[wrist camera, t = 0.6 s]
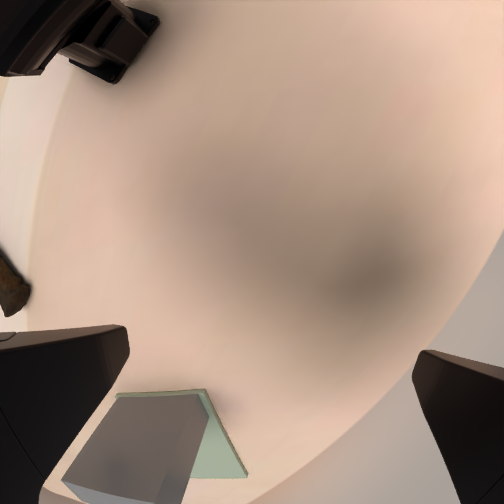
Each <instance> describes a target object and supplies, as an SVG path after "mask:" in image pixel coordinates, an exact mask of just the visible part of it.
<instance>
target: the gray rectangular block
mask: <svg viewBox="0 0 504 504" xmlns="http://www.w3.org/2000/svg"><path fill="white" fill-rule="evenodd" d="M208 420H209V415H208V413H207V411H206V409H205V407H204V405H203V403H202V401H201V399H200V397H199V395H198V394H187V395H171V396H147V397H118V398H117V400H116V401H115V403H114V404H113V405H112V407H111V408H110V410H109V411H108V412H107V414H106V415H105V417H104V418H103V420H102V421H101V422H100V424H99V425H98V427H97V428H96V429H95V431H94V432H93V434H92V435H91V437H90V438H89V439H88V441H87V442H86V444H85V445H84V447H83V448H82V450H81V451H80V452H79V454H78V455H77V457H76V458H75V460H74V461H73V463H72V464H71V466H70V467H69V468H68V470H67V471H66V473H65V474H64V476H63V477H62V479H61V481H62V482H63V483H64V484H65V485H66V486H67V487H68V488H69V489H70V490H71V491H72V492H73V493H74V494H75V495H76V496H77V497H78V498H79V499H80V500H81V501H83V502H86V503H89V504H181V502H182V499H183V496H184V493H185V490H186V487H187V484H188V481H189V478H190V475H191V472H192V469H193V466H194V463H195V460H196V457H197V454H198V450H199V447H200V444H201V441H202V438H203V435H204V432H205V429H206V426H207V423H208Z"/></svg>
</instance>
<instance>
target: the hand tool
mask: <svg viewBox="0 0 504 504" xmlns="http://www.w3.org/2000/svg"><path fill="white" fill-rule="evenodd" d="M29 295H30V288H29V287H28V286H24V285H23V283H22V278H21V277H16V276H15V275H14V273H13V272H12V271H11V270H10V268H9V267H8V266H7V264H6V263H5V262H4V260H3V259H2V258H1V256H0V305H1V307H2V310H3V312H4V316H5V317H10V316H12V315H14V314H15V313H16V312H18V311H20V310H21V309H22V308H23V306H24V305H25V304H26V301H27V300H28V298H29Z"/></svg>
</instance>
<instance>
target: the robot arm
mask: <svg viewBox="0 0 504 504" xmlns="http://www.w3.org/2000/svg"><path fill="white" fill-rule="evenodd" d="M153 21H155V22H154V23H152V22H153ZM151 23H152V24H151ZM159 23H160V19H159V18H158V17H157V16H154V15H151V14H149V13H146V12H143V11H140V10H137V9H134V8H131V7H128V6H125V5H124V4H123V3H122V2H121V1H120V0H0V76H4V77H12V76H34V75H41V74H42V72H43V71H44V70H45V67H46V66H47V64H48V63H49V62H50V61H51V59H52V58H53V57H54V56H55V55H56V54H57V53H58V54H61V55H63V56H65V57H68V58H69V62H70V63H72V64H74V65H76V66H78V67H80V68H82V69H84V70H86V71H87V72H89V73H91V74H93V75H95V76H97V77H99V78H101V79H103V80H105V81H106V82H108V83H110V84H115V83H117V82H118V81H119V79H120V78H121V76H122V75H123V73H124V72H125V70H126V69H127V67H128V66H129V64H130V63H131V62H132V60H133V59H134V58H135V56H136V55H137V53H138V52H139V51H140V49H141V48H142V46H143V45H144V44H145V42H146V41H147V40H148V38H149V37H150V35H151V34H152V33H153V31H154V30H155V29H156V28H157V26H158V25H159ZM113 76H115V77H114V79H113V80H112V77H113ZM129 354H130V347H129V341H128V334H127V329H126V328H125V327H124V326H120V325H114V324H112V325H103V326H93V327H82V328H71V329H59V330H45V331H30V332H18V333H16V332H2V333H0V504H39V503H38V502H39V494H40V491H41V488H42V486H43V484H44V482H45V480H46V479H47V478H48V476H49V475H50V473H51V472H52V471H53V469H54V468H55V466H56V465H57V463H58V462H59V460H60V459H61V458H62V456H63V455H64V453H65V452H66V450H67V449H68V448H69V446H70V445H71V443H72V442H73V440H74V439H75V438H76V436H77V435H78V433H79V432H80V431H81V429H82V428H83V426H84V425H85V424H86V422H87V421H88V419H89V418H90V417H91V415H92V414H93V412H94V411H95V410H96V408H97V407H98V406H99V404H100V403H101V401H102V400H103V399H104V397H105V396H106V395H107V393H108V392H109V390H110V389H111V388H112V386H113V384H114V383H115V381H116V379H117V377H118V375H119V374H120V372H121V370H122V368H123V366H124V365H125V363H126V361H127V359H128V357H129ZM412 381H413V384H414V387H415V390H416V393H417V396H418V399H419V402H420V405H421V408H422V411H423V413H424V416H425V418H426V420H427V422H428V425H429V427H430V429H431V431H432V434H433V436H434V438H435V440H436V443H437V445H438V447H439V449H440V452H441V454H442V457H443V459H444V462H445V464H446V466H447V469H448V471H449V474H450V476H451V479H452V482H453V484H454V487H455V489H456V492H457V495H458V497H459V500H460V503H461V504H504V368H502V367H498V366H493V365H489V364H485V363H482V362H478V361H474V360H470V359H466V358H461V357H458V356H454V355H450V354H446V353H443V352H439V351H435V350H422V351H421V352H420V353H419V355H418V358H417V361H416V364H415V367H414V369H413V372H412Z"/></svg>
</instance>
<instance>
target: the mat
mask: <svg viewBox="0 0 504 504" xmlns="http://www.w3.org/2000/svg"><path fill="white" fill-rule="evenodd" d="M187 394H198V395H199V397H200V399H201V401H202V403H203V405H204V407H205V409H206V411H207V413H208V415H209V420H208V423H207V426H206V429H205V432H204V435H203V438H202V441H201V444H200V447H199V450H198V454H197V457H196V460H195V463H194V466H193V469H192V472H191V475H190V478H202V479H234V478H247V476H248V474H247V472H246V470H245V468H244V466H243V465H242V463H241V461H240V459H239V457H238V455H237V453H236V452H235V450H234V448H233V446H232V444H231V442H230V440H229V438H228V436H227V434H226V432H225V430H224V428H223V426H222V424H221V422H220V420H219V418H218V416H217V414H216V412H215V410H214V408H213V405H212V403H211V401H210V399H209V397H208V395H207V393H206V390H205V389H197V390H185V391H171V392H151V393H117V394H116V396H115V398H116V399H117V398H118V397H147V396H171V395H187Z"/></svg>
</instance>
